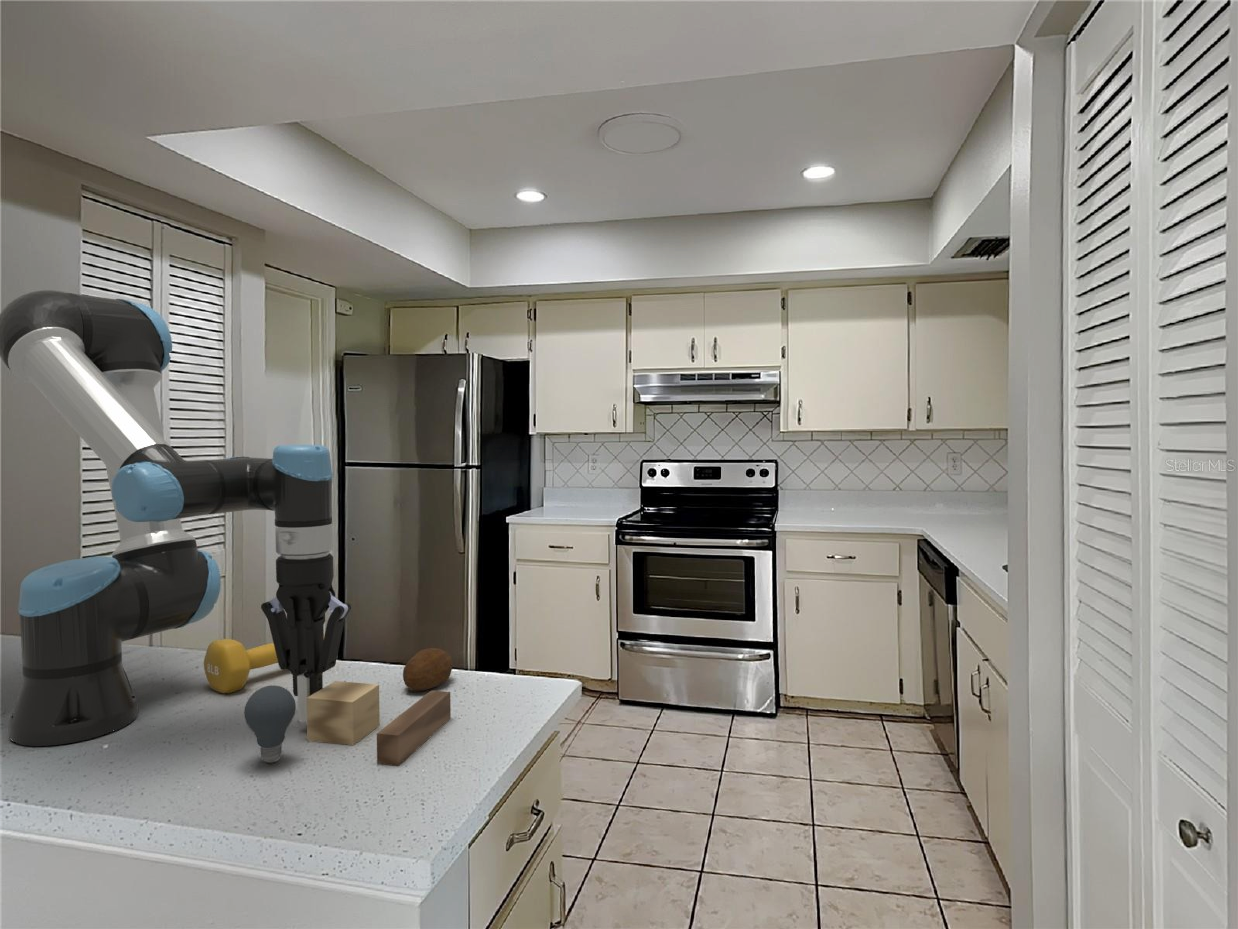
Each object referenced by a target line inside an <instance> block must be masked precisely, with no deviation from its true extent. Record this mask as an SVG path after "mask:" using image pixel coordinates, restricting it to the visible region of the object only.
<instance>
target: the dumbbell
mask: <svg viewBox="0 0 1238 929" xmlns="http://www.w3.org/2000/svg"><path fill="white" fill-rule="evenodd" d="M274 664H278V660H277V656H276V651H275V647H274V643H273V642H270V643H267V644H263V645H260V646H256V647H253V648H249V649H245V647H244V645H243V643H241V642H239V641H238V640H235V639H231V638H222V639H217V640H214V641H211V642H210V643H209V645H208V647H207V649H206V652H205V655H204V658H203V668H204V670H203V671H204V673H205V676H206V679H207V683H208V684H209V687H210V689H212V690H213V691H215V690H216V692H218V691H219V692H218V693H221V694H225V693H227V694H231V693H234V692H237V691H239V690H241V689H242V688H243V687H244V686H245V685H246V683H247V681H248V677H249V675H250V671H251V670H255V669H260V668H264V667H268V666H272V665H274ZM306 671H307V669H306Z"/></svg>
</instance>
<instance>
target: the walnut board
mask: <svg viewBox="0 0 1238 929" xmlns="http://www.w3.org/2000/svg"><path fill="white" fill-rule="evenodd" d="M451 706H452V703H451V691H445V690H443V691H442V690H432V689H431V691H429V692H428V693H426V694H425V695H423V697H421V698H420V699H419V700H417V701H416V702H414V703H413V704H412V705H411V706H410V707H409V708H407V709H406V710H405V711H403V712H402V713H401V714H399V715H398V716H397V717H396V718H394V719H393V720H392V721H391V722H389V723H387V725H385V726H384V727H383V728H382V729H380V730H379V731H378V732H377V733H376V763H377V765H385V766H386V765H387V766H394V767H395V766H396V767H399V766H401V764H402V763H404V762H405V761H406V760H407V759H408V758H409V757H410V756H411V755H412V754H413V753H414V752H416V751H417V750H418V749H419V748H420V747H421V746H422V745H423V744H424V743H425V742H427V741H428V740H429V739H430V738H431V737H432V736H433V735H434V734H435V733H436V732H437V731H439V730H440V729H441V728H442V727H443V726H444V725H445V724H446V723H447V722H448V721H450V720H451V719H452V717H451V716H452V714H451V712H452V711H451V710H452V709H451ZM441 726H442V727H441ZM433 733H434V734H433ZM430 736H431V737H430ZM429 737H430V738H429ZM419 746H420V747H419ZM418 747H419V748H418ZM416 749H417V750H416ZM408 756H409V757H408Z"/></svg>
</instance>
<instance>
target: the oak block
mask: <svg viewBox="0 0 1238 929" xmlns="http://www.w3.org/2000/svg"><path fill="white" fill-rule="evenodd" d="M380 716H381V715H380V684H377V683H375V684H374V683H365V682H362V683H361V682H351V681H343V680H342V681H340V680H334V681H333V682H332V683H329V684H328V685H326V686H323V689H321V690H319V691H317V692H316V693H314V694H312V695H311V696H309V697H307V722H306V733H307V734H306V737H307V739H306V740H307V742H318V743H329V744H337V745H338V744H339V745H346V744H347V746H354V745H356V744H357V743H359V742H360V741H361V740H362V739H364V738H365V737H367V735H369V734H370V733H372V731H374V730H375V729H377V728H378V727H379V726H380V725H381V724H380V723H381V720H380V719H381V717H380Z"/></svg>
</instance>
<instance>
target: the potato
mask: <svg viewBox="0 0 1238 929" xmlns="http://www.w3.org/2000/svg"><path fill="white" fill-rule="evenodd" d="M452 670H453V661H452V657H451V656H450V654H449V653H448V652H447V651H445V650H444V649H441V648H435V647H430V648H425V649H421V650H419V651H418V652H416V653H415V654H414V655H413V656H412V657H411V658H410V659H409V660H408V661H407V663H406V664H405V665H404V666H403V670H402V680H403V683H404V685H405V686H406V687H407V688H408V689H409V690H412V691H415V692H422V691H426V690H429V689H433V688H435V687H437V686H441V685H443V684H445V683H446V682H447V681H448V680H449V678H450V677H451V674H452Z"/></svg>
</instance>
